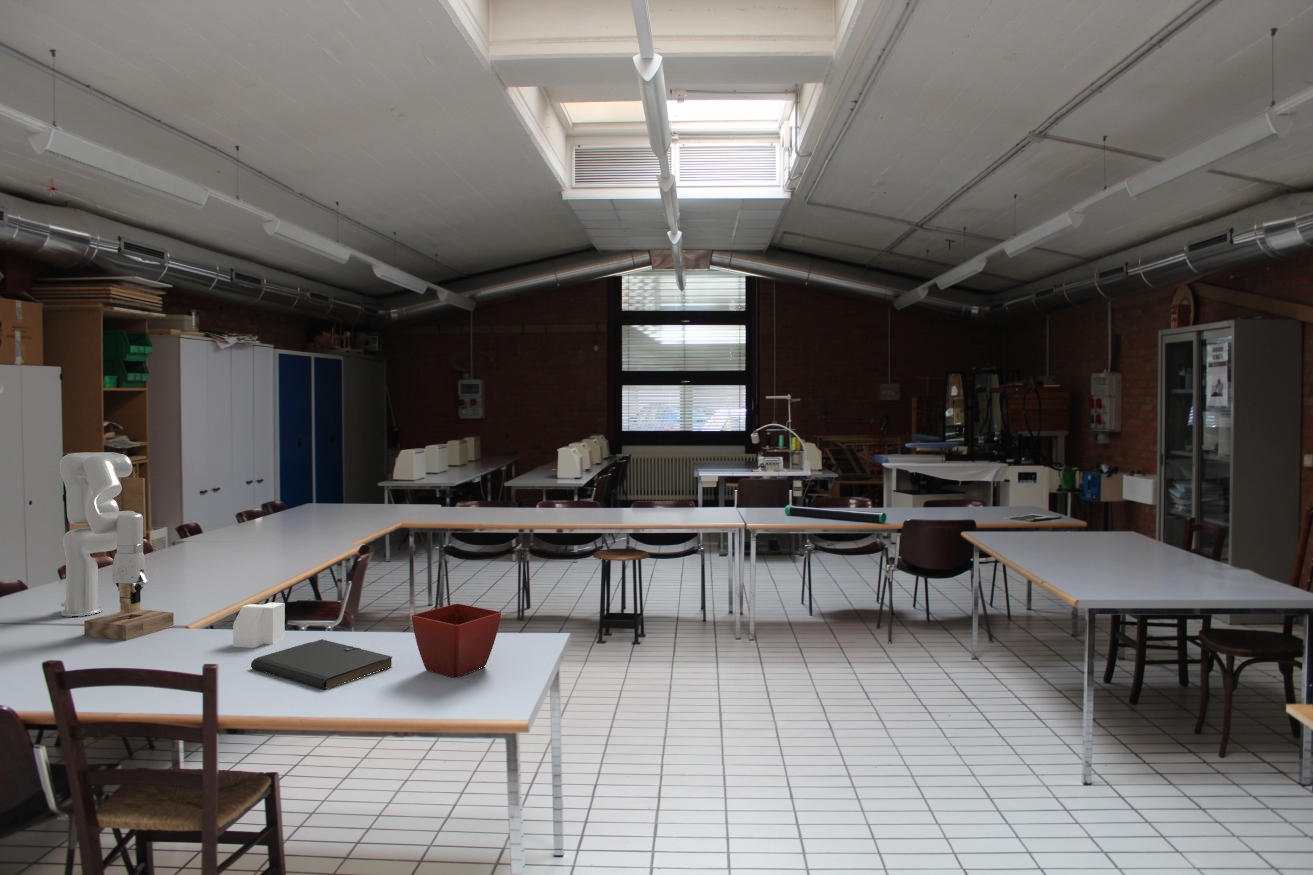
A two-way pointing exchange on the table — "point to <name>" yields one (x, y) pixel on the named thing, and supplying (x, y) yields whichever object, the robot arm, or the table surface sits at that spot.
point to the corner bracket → (259, 625)
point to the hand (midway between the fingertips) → (130, 601)
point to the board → (128, 624)
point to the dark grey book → (322, 663)
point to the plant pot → (455, 638)
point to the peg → (127, 599)
